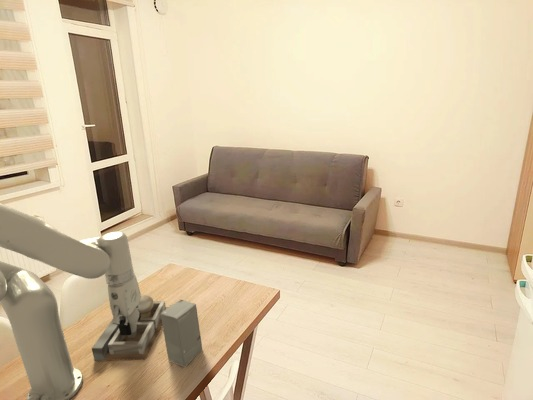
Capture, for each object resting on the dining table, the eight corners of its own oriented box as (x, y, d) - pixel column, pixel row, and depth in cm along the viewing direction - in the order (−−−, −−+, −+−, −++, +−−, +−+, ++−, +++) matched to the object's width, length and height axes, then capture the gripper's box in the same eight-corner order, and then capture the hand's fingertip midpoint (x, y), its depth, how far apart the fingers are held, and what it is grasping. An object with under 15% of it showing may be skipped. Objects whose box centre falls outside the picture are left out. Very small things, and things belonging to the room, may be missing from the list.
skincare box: (184, 368, 94) (177, 320, 89) (166, 360, 98) (158, 313, 93) (204, 348, 101) (198, 303, 96) (186, 341, 104) (179, 297, 100)
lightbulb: (130, 347, 100) (123, 316, 96) (118, 340, 103) (111, 309, 99) (147, 334, 104) (141, 304, 101) (135, 328, 108) (129, 298, 104)
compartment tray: (145, 360, 98) (139, 331, 95) (94, 360, 99) (87, 332, 96) (170, 309, 121) (166, 285, 118) (129, 309, 121) (124, 285, 118)
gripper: (119, 291, 88) (131, 347, 94) (144, 259, 105) (153, 309, 110) (91, 292, 89) (104, 348, 94) (120, 260, 105) (130, 309, 111)
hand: (130, 326), depth 102 cm, fingers closed on lightbulb, 5 cm apart
